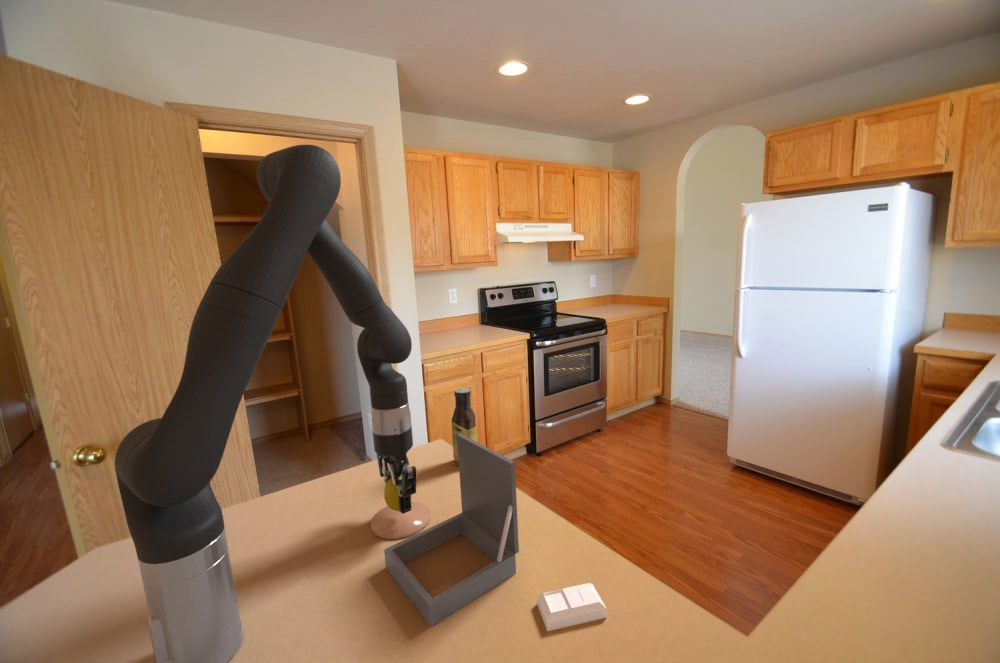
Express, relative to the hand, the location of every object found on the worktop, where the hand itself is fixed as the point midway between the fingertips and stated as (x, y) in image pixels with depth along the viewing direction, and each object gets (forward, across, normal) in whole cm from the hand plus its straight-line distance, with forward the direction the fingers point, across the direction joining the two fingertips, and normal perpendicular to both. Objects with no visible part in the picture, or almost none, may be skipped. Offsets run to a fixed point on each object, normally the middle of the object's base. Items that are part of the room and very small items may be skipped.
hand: (399, 504), depth 86 cm
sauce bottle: (+4, -12, +24) cm, 27 cm away
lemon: (+2, 0, 0) cm, 2 cm away
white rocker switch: (+4, +38, +9) cm, 39 cm away
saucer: (+4, 0, 0) cm, 4 cm away
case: (+4, +19, 0) cm, 19 cm away
